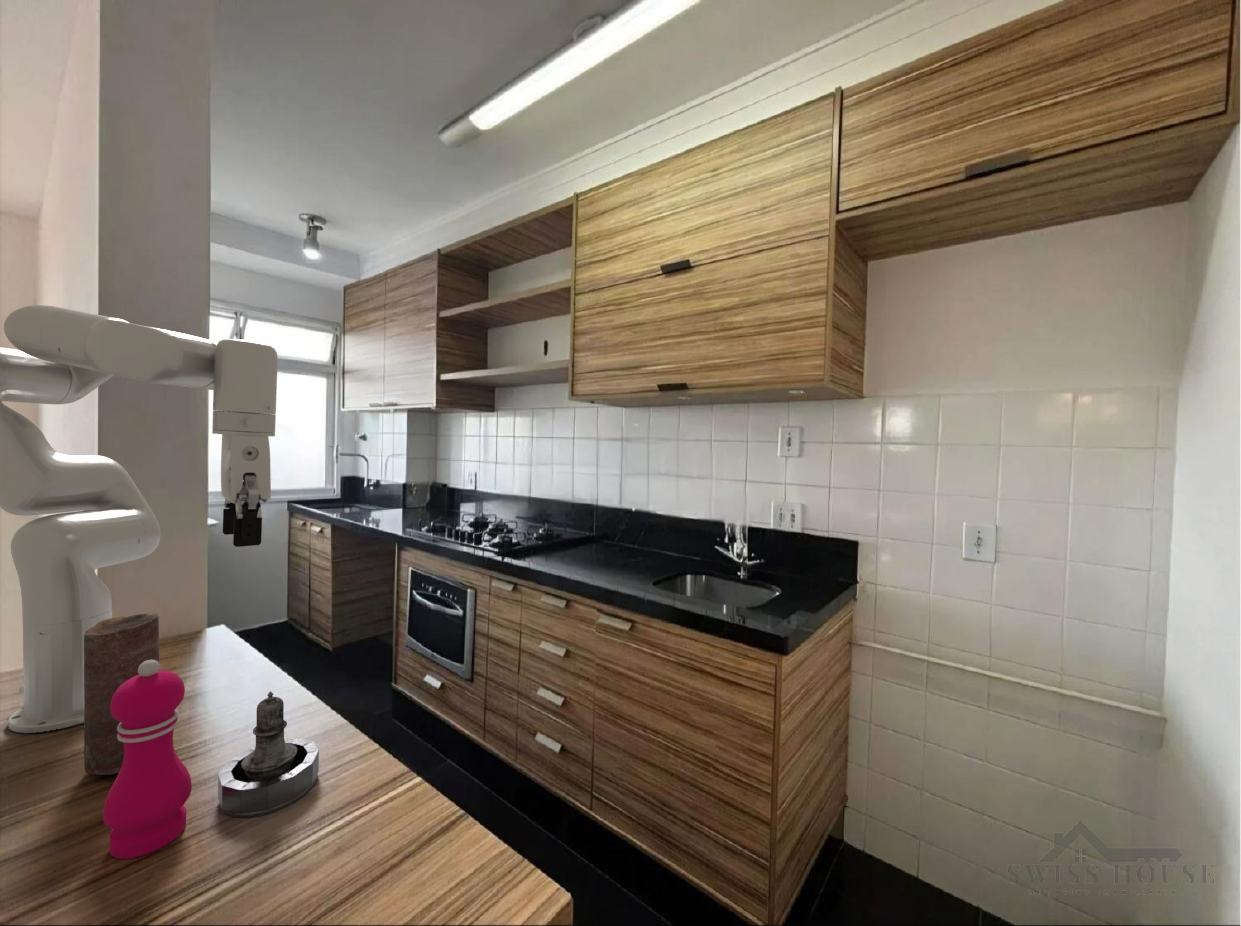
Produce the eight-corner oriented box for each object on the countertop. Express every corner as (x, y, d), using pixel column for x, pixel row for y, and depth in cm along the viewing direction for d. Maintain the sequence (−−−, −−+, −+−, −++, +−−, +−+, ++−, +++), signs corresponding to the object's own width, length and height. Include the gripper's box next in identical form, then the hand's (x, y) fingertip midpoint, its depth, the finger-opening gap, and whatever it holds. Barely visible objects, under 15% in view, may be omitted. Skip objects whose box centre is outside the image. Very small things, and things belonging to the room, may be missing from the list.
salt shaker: (269, 803, 61) (270, 706, 61) (228, 795, 63) (228, 700, 62) (308, 772, 67) (308, 683, 67) (269, 765, 68) (270, 678, 68)
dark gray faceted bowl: (197, 807, 61) (197, 779, 61) (274, 757, 71) (274, 733, 71) (265, 826, 59) (266, 796, 59) (335, 771, 69) (335, 746, 68)
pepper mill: (184, 804, 62) (184, 642, 61) (198, 835, 57) (198, 660, 56) (98, 838, 56) (97, 660, 55) (107, 876, 52) (106, 682, 51)
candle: (135, 781, 65) (135, 628, 64) (66, 788, 64) (64, 631, 63) (173, 746, 73) (173, 608, 72) (112, 751, 71) (111, 610, 70)
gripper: (288, 428, 72) (284, 548, 73) (263, 425, 84) (259, 528, 85) (221, 425, 67) (217, 553, 68) (204, 422, 79) (201, 531, 80)
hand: (241, 539), depth 76 cm, fingers open, 9 cm apart
